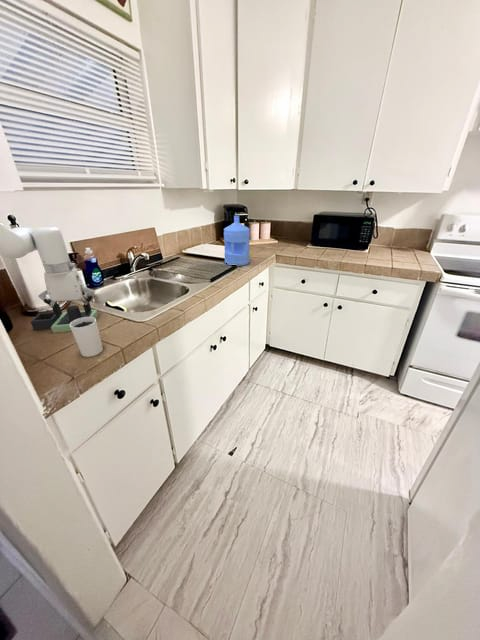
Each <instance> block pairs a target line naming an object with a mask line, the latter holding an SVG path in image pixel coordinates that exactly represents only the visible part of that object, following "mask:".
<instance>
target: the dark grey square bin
mask: <svg viewBox="0 0 480 640" xmlns="http://www.w3.org/2000/svg"><path fill="white" fill-rule="evenodd" d="M58 318H59V317H56V314H54V312H53V311H50V312H39V313H37V314H36V316H35V317H33V318H32V319H31V320H30V321H29V322H30V325H31V328H32V329H33V331H43V330H44V331H45V330H52V329H51V326H52V325H53V324H54V323H55V322H56V321H57V319H58Z"/></svg>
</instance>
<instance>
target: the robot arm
mask: <svg viewBox="0 0 480 640" xmlns="http://www.w3.org/2000/svg"><path fill="white" fill-rule="evenodd" d="M34 251H37V253H38V254H39V258H40V260H41V264H42V266H43V268H44V272H43V277H44V284H45V287H46V288H45V290H44V291H42V292H41V293H40V294H39V295H38V298H39V299H40V300H42V301H43V303H45V304H46V305H48V306H49V307H50V308H52V309H51V310H52V312H54V314H56V317H60V316H61V315H62V314H63V311H62V309H61V306H60V304H59V303H58V302H70V301H71V302H72V301H80V302H81V303H83V305H82V307H83V309H84V310H83V311H85V313H86V315H89V313H90V312H91V310H92V307H91V303H90V302H91V301H92V299H93V298H94V295H95V293H96V291H95V290H94V289H92V288H89V287H86V286H84V283H83V281H82V278H81V277H80V274H79V272H78V271H77V269H75V268H77V264H76V262H72V260H71V259H70V256H69V252H68V250H67V246H66V242H65V240H64V237H63V233H62V231H61V229H60V228H59V227H56V226H41V227H29V226H15V227H12V228H8V227H7V226H6V225H4V224H3V223H2V222H0V255H1V256H4V257H6V258H9V259H21V258H23V257H25V256H26V255H28V254H31V253H32V252H34ZM86 293H87V294H88V296H86V295H87V294H86ZM47 295H48V296H47Z"/></svg>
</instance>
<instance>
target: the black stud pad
mask: <svg viewBox="0 0 480 640" xmlns="http://www.w3.org/2000/svg"><path fill="white" fill-rule="evenodd" d="M65 310H66V312H67V313H68V314H66V316H65V317H64V318H63V319H62V320H61V322H60V323H59V324H58V325H63V324H70V323H71V322H72V321H74V320H76V319H79V318H83V317H89V316H90V315H91V313H92V312H90V313H89V315H86V313H85V312H81V313H80V311H81V309H80V307H79V305H77V304H75V305H70V306H67V307H66V308H65Z"/></svg>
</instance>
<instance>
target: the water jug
mask: <svg viewBox="0 0 480 640" xmlns="http://www.w3.org/2000/svg"><path fill="white" fill-rule="evenodd" d="M250 231H251V230H250V228H249V227H248V226H246V225H244V224H242V223H241V222H240V215H233V223H232V224H230V225H228V226H226V227H224V228H223V241H224V263H225V265H226V266H230V267H232V266H231V265H230V264H236V266H235V267H244V266H247V265H249V264H250V249H251V247H250V236H251V232H250ZM226 263H227V264H226Z"/></svg>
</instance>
